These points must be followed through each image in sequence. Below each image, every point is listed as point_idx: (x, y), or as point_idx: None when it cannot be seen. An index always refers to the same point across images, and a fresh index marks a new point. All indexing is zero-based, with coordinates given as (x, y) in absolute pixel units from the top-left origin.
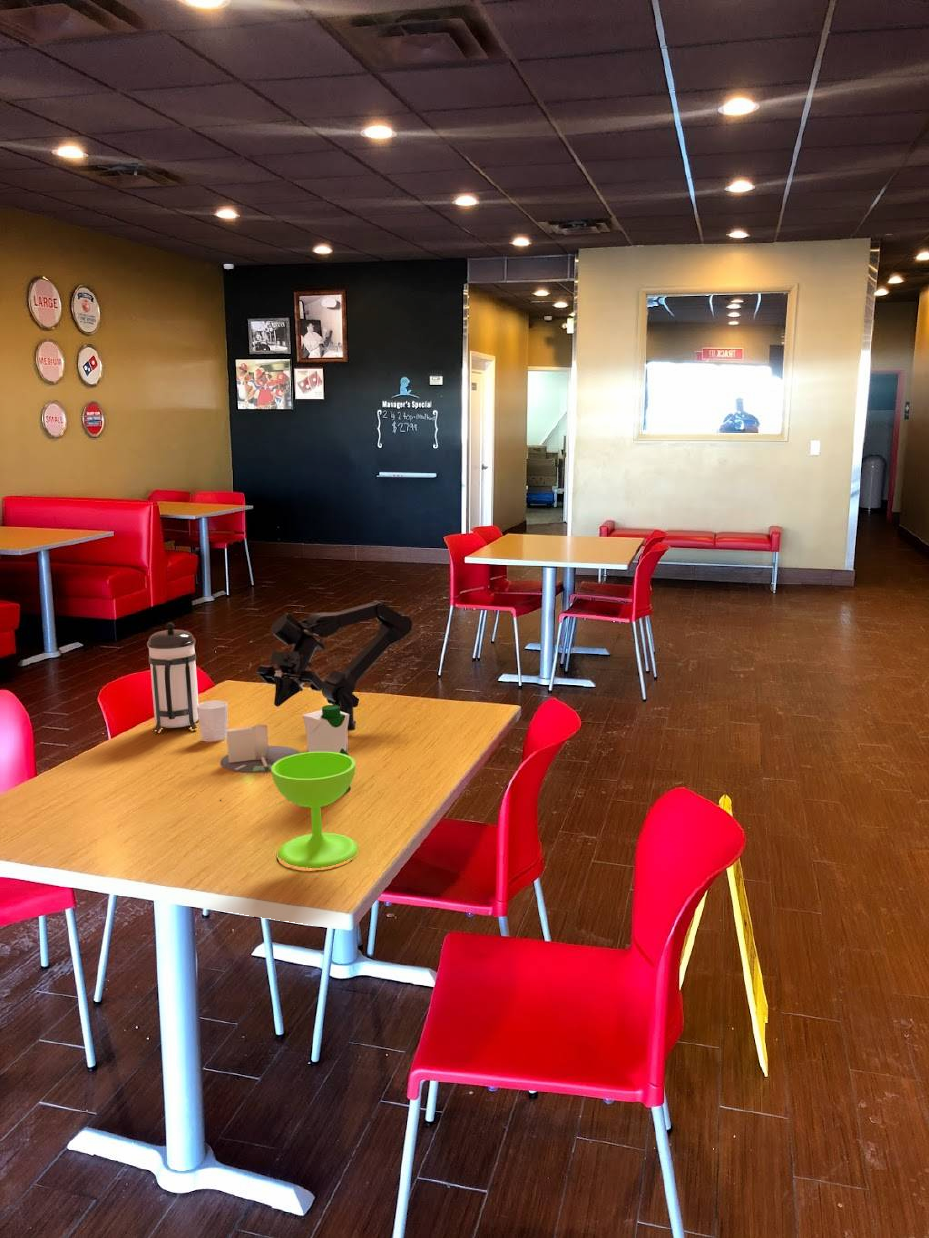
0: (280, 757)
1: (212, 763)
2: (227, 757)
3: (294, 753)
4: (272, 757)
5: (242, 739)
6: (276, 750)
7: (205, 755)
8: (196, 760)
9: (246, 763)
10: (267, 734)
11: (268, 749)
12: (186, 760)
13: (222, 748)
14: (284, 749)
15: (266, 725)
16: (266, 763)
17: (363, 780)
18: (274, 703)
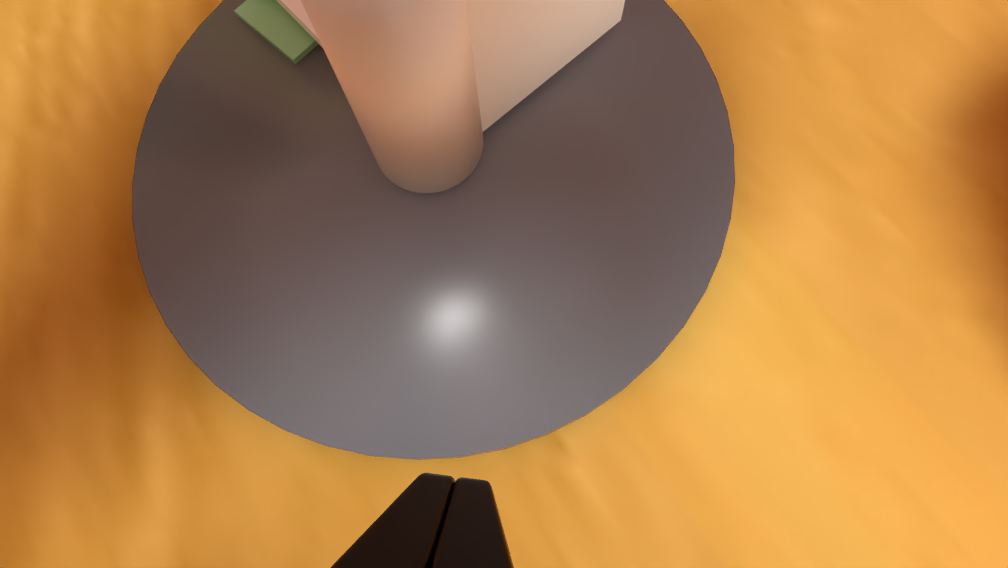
0: (305, 215)
1: (738, 27)
2: (687, 86)
3: (242, 332)
4: (365, 195)
5: None
6: (424, 344)
7: (915, 130)
8: (887, 34)
9: None
10: (321, 43)
11: (368, 141)
12: (950, 12)
13: (930, 302)
14: (372, 390)
15: (320, 9)
16: (291, 9)
17: None
18: (480, 485)
